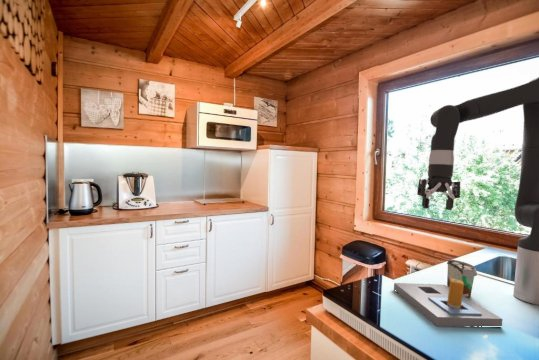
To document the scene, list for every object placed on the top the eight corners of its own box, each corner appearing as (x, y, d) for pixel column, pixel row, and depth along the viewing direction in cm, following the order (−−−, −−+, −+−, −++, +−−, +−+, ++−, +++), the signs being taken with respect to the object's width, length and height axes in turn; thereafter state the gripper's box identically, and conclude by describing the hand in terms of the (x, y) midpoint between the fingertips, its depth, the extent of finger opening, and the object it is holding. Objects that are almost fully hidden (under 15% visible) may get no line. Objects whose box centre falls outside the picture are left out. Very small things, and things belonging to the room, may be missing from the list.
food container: (483, 303, 88) (485, 272, 87) (461, 300, 89) (464, 269, 89) (463, 287, 100) (466, 260, 100) (445, 285, 101) (447, 258, 101)
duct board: (444, 291, 95) (444, 283, 95) (501, 328, 73) (502, 317, 73) (393, 290, 94) (394, 281, 94) (436, 326, 72) (437, 315, 72)
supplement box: (461, 319, 76) (464, 284, 76) (446, 315, 78) (449, 280, 78) (460, 314, 79) (463, 280, 79) (446, 310, 81) (448, 277, 81)
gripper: (428, 162, 93) (424, 209, 94) (468, 164, 94) (464, 211, 95) (415, 162, 101) (412, 206, 101) (452, 165, 102) (448, 208, 102)
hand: (437, 209), depth 98 cm, fingers open, 8 cm apart
